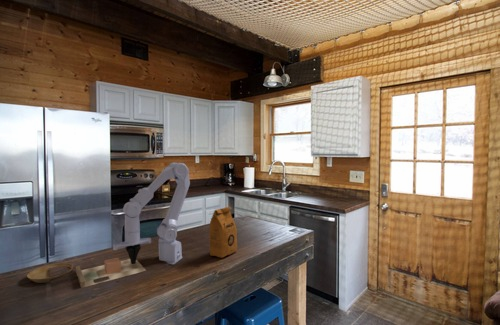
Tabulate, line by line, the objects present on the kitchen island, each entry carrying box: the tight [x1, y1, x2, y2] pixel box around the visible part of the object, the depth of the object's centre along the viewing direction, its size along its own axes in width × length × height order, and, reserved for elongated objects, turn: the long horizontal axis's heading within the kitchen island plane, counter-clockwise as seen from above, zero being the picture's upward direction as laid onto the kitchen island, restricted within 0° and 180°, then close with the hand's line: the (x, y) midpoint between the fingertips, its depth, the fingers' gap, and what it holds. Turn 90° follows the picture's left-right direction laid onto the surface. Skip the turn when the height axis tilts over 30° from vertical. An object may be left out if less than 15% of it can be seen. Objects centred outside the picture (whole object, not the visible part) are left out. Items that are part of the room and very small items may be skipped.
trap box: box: [75, 258, 147, 289], centre depth 108 cm, size 22×17×3 cm
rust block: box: [103, 257, 122, 274], centre depth 108 cm, size 5×5×4 cm
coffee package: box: [208, 206, 238, 258], centre depth 128 cm, size 10×12×22 cm
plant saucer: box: [26, 262, 74, 284], centre depth 107 cm, size 15×15×3 cm
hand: (133, 263), depth 113 cm, fingers closed
